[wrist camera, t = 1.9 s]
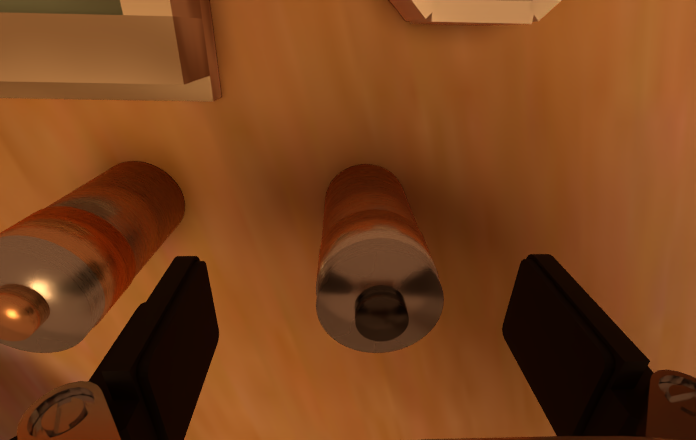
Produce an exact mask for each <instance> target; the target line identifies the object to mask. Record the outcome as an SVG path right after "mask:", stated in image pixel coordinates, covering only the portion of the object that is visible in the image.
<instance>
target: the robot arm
mask: <svg viewBox="0 0 696 440" xmlns="http://www.w3.org/2000/svg"><path fill="white" fill-rule="evenodd" d="M502 332H503V336H504V339H505V341H506V343H507V344H508V346H509V348H510V350H511V352H512V354H513V356H514V357H515V359H516V361H517V363H518V365H519V367H520V368H521V370H522V372H523V374H524V376H525V378H526V380H527V381H528V383H529V385H530V387H531V389H532V391H533V393H534V394H535V396H536V398H537V400H538V402H539V404H540V405H541V407H542V409H543V411H544V413H545V415H546V417H547V418H548V420H549V422H550V424H551V426H552V428H553V430H554V431H555V433H556V435H557V436H552V437H506V438H461V439H423V440H696V378H694V377H692V376H690V375H687V374H684V373H681V372H678V371H672V370H659V371H657V372H655V373H653V372H652V371H651V369H650V368H649V367H648V364H649V362H650V361H649V359H648V358H647V357H646V356H645V355H644V354H643V353H642V352H641V351H640V350H639V349H638V348H637V347H636V345H635V344H634V343H633V342H632V341H631V340H630V339H629V338H628V337H627V336H626V335H625V334H624V333H623V331H622V330H621V329H620V328H619V327H618V326H617V325H616V324H615V323H614V322H613V321H612V320H611V319H610V317H609V316H608V315H607V314H606V313H605V312H604V311H603V310H602V309H601V308H600V307H599V306H598V305H597V303H596V302H595V301H594V300H593V299H592V298H591V297H590V296H589V295H588V294H587V293H586V292H585V291H584V289H583V288H582V287H581V286H580V285H579V284H578V283H577V282H576V281H575V280H574V279H573V278H572V277H571V275H570V274H569V273H568V272H567V271H566V270H565V269H564V268H563V267H562V266H561V265H560V264H559V263H558V261H557V260H556V259H555V258H554V257H553V256H551V255H549V254H531V255H528V257H527V258H526V259H524V260H522V261H521V263H520V267H519V270H518V274H517V277H516V281H515V284H514V288H513V291H512V295H511V298H510V302H509V305H508V309H507V312H506V316H505V319H504V323H503V327H502ZM218 338H219V329H218V324H217V318H216V313H215V308H214V303H213V297H212V292H211V287H210V282H209V277H208V271H207V266H206V263H205V262H204V261H200V260H199V258H198V257H197V256H177V257H175V258H174V260H173V261H172V263H171V264H170V266H169V267H168V269H167V271H166V272H165V274H164V275H163V277H162V278H161V280H160V281H159V283H158V284H157V286H156V287H155V289H154V291H153V292H152V294H151V295H150V297H149V298H148V300H147V301H146V302H144V303H142V304H140V306H139V307H138V308H137V309H136V311H135V312H134V314H133V315H132V317H131V318H130V320H129V321H128V323H127V324H126V326H125V327H124V329H123V330H122V332H121V333H120V335H119V336H118V338H117V339H116V341H115V342H114V344H113V345H112V347H111V348H110V350H109V351H108V353H107V354H106V356H105V357H104V359H103V360H102V362H101V363H100V365H99V366H98V368H97V369H96V371H95V372H94V374H93V375H92V377H91V378H90V380H89V381H88V382H84V381H79V382H73V383H68V384H66V385H63V386H60V387H58V388H55V389H54V390H52V391H50V392H48V393H47V394H45V395H43V396H42V397H41V398H39V399H38V400H37V401H36V402H34V403H33V404H32V405H31V406H30V407H29V409H28V410H27V411H26V412H25V413H24V414H23V416H22V418H21V420H20V422H19V424H18V429H17V436H16V437H14V438H12V439H10V440H184V438H185V435H186V432H187V429H188V426H189V423H190V421H191V418H192V415H193V412H194V409H195V406H196V403H197V400H198V398H199V395H200V392H201V389H202V386H203V383H204V380H205V378H206V375H207V372H208V369H209V366H210V363H211V360H212V357H213V355H214V352H215V349H216V346H217V343H218Z"/></svg>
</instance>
